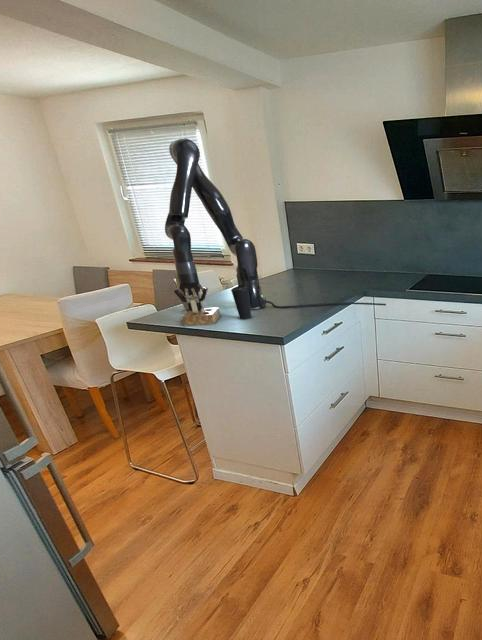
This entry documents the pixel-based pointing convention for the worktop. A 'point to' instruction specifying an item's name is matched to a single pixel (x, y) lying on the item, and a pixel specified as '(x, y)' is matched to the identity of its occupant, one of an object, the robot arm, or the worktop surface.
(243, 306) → the drinking cup
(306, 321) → the worktop surface
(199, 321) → the peg block
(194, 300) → the peg
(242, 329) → the worktop surface
